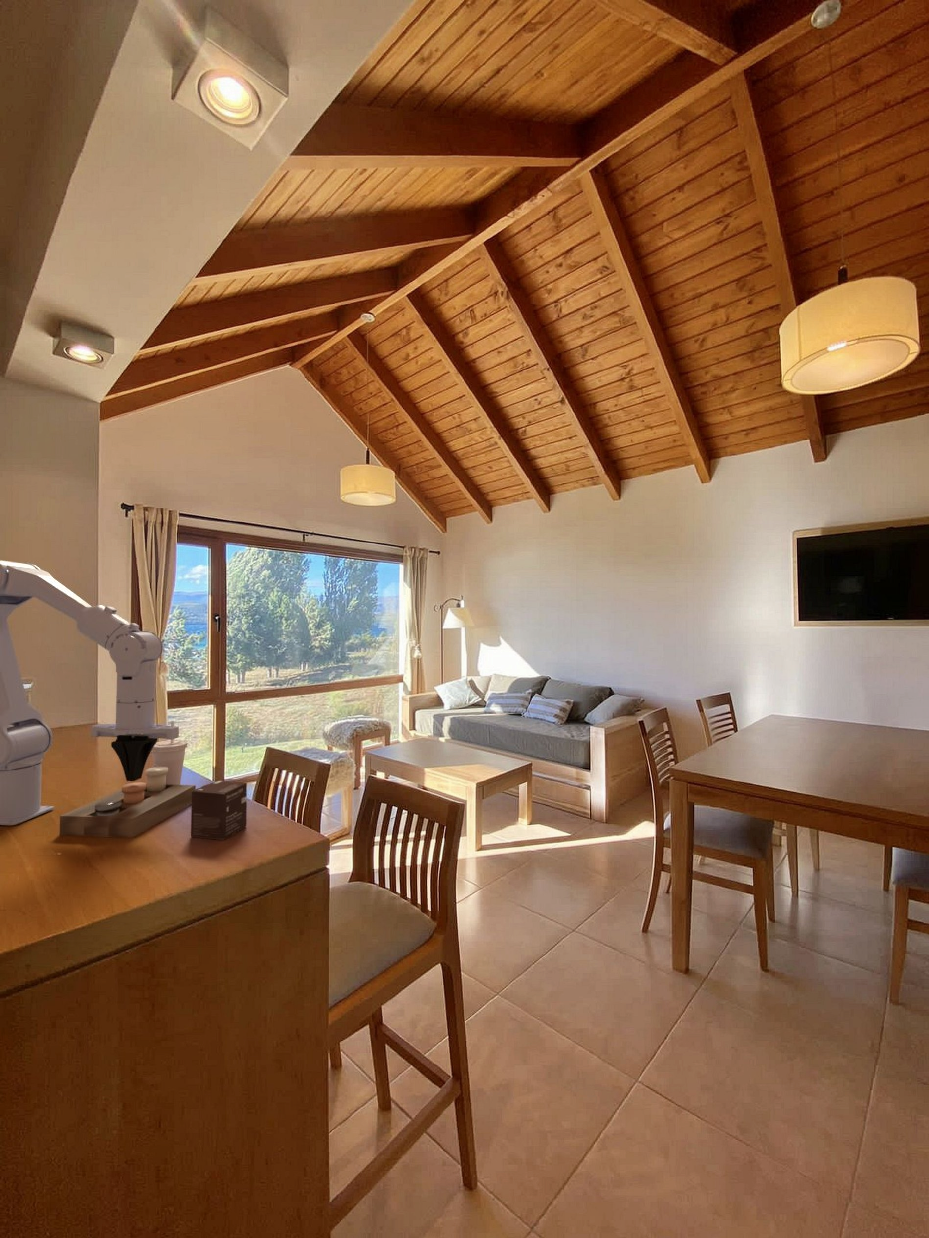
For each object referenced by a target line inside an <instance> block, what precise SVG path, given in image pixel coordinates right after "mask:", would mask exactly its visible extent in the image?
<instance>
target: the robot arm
mask: <svg viewBox="0 0 929 1238" xmlns="http://www.w3.org/2000/svg"><path fill="white" fill-rule="evenodd" d="M34 598H36V599H38V600H39V601H41V602H43V603H44V604H46V605H48V606H49V607H51V608H53V609H56V610H57V611H58V612H60V613H62V614H64V615H66V616H67V617H68V618H70V619H72V620H74V621H75V622H76V629H77V631H78V633H80V634H81V635H83V636H85V637H86V638H87V639H90V640H91V641H93V642H94V643H96V644H97V645H99V646H100V647H101V648H103V649H105V650H106V651H108V653H109V656H110V658H111V660H112V661H113V663H114V664H115V672H116V696H115V697H116V699H115V700H116V701H115V703H116V704H115V723H111V724H109V723H107V724H106V723H104V724H103V723H102V724H101V723H99V724H95V725H92V726H90V738H99V737H101V738H102V737H103V738H116V739H115V740H114V741H112V742H111V743H110V745H111V748H112V749H113V750H114V752H115V754H116V756H117V757H118V760H120V763H121V766H122V770H123V772H124V773H123V774H124V776H125V781H126V782H137V781H138V780H140V779H142V777H143V773H144V769H145V767H146V763H147V760H148V758H149V756H150V753H151V752H152V751H151V750H152V748H153V747H154V745H155V744H156V743H157V742H158V739H166V741H169V740H172V739H174V740H176V739H177V738H179V737H180V731H179V730H180V726H176V725H174V726H171V725H166V724H165V725H164V724H157V723H155V717H156V716H155V715H156V714H155V713H156V712H155V711H156V683H157V682H156V679H157V678H156V677H157V674H156V673H157V661H158V660H159V659H160V657H161V656H162V654H163V651H164V645H163V641H162V639H161V638H160V637H159V636H158V635H157V634H156V633H155V632H154V631H151V630H140V629H139V628H140V625H139V624H137V623H134V622H130V621H128V620H126V619H124V617H121V616H120V615H118V614H117V611H118V610H117V609H116V608H115V607H113V606H105V605H102V604H99V605H93V606H92V605H90V604H89V603H88V602H87V601H85V599H82V598H81V596H80V597H79V596H78V595H77V594H76V593H75V592H73V591H72V590H70V589H69V588H68V587H66V586H65V585H64V584H62V583H61V582H59V581H58V580H57V579H55V578H54V577H53V576H52V575H51V574H50V572H48V571H46V570H44V569H41V568H40V567H39V566H37V565H35V564H33V563H27V562H22V563H21V562H17V561H9V560H2V559H0V826H16V825H18V824H21V823H23V822H25V821H28V820H31V819H33V818H35V817H38V816H41V815H42V814H44V813H48V812H49V811H52V810H54V809H55V806H54V805H41V803H42V800H41V799H42V768H43V767H42V763H43V762H42V760H44V759H45V753H46V752H48V751H49V750H50V748H51V747H52V745H53V740H54V736H53V732H52V729H51V728H50V727H49V726H48V724H47V723H46V722H45V720H44V717H43V714H42V712H41V711H40V710H38V709H36V708H34V707H33V706H31V705H29V702H28V698H27V694H26V690H25V686H24V682H23V679H22V674H21V670H20V666H19V664H18V663H19V662H18V659H17V653H16V650H15V647H14V642H13V638H12V635H11V630H10V626H9V623H8V618H9V616H10V615H12V613H13V612H14V611H15V610H17V609H18V608H20V607H21V606H23V605H24V604H26V603H27V602H29V601H31V600H32V599H34ZM9 726H10V727H9Z"/></svg>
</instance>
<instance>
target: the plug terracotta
mask: <svg viewBox="0 0 929 1238" xmlns="http://www.w3.org/2000/svg"><path fill="white" fill-rule="evenodd" d="M146 784H147V782H143V781H141V782H138V781H135V782H129V783H126V784H123V785H121V789H122V793H124V803H139V802H141V801H143V800H144V790H146Z"/></svg>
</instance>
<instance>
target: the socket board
mask: <svg viewBox="0 0 929 1238" xmlns="http://www.w3.org/2000/svg"><path fill="white" fill-rule="evenodd" d="M196 789H197V787H196V784H180V785H172V784H166V789H165V790H163V791H161V792H147V783H146V790H144V800H143V801H141V802H139V803H124V793H122V788H121V789H118V790H116V791H114V792H112V793H109V794H107V795H104V796H102V797H100V798H97V799H94V800H93V801H92V802H89V803H86V804H84V805H82V806H80V807H77V808H75V809H72V810H70V811H67V812H65V813H63V814H61V815H59V836H78V837H99V838H101V837H102V838H104V837H105V838H107V837H108V838H128V839H129V838H130V839H131V838H132V839H133V838H135V837H137V836H138V835H140V834H142V833H143V832H145V831H147V830H148V829H150V828H152V827H154V826H156V825H157V824H159V823H161V822H163V821H164V820H166V819H168V818H169V817H171V816H172V815H174V814H176V813H178V812H179V811H181V810H183V809H185V808H186V807H189V806H191V805H192V791H193V790H196ZM108 800H121V801H122V807H121V808H120V809H119V813H117V814H115V815H113V816H97V812H95V804H97V803H99V802H103V801H108Z"/></svg>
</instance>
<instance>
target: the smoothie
mask: <svg viewBox="0 0 929 1238" xmlns="http://www.w3.org/2000/svg"><path fill="white" fill-rule="evenodd" d="M170 726H175V721H174V720H171V721H170ZM188 746H189V745H188V741H186V740H182V739H179V740H178V739H172V740H164V741H162V740H161V741H157V742H156V744H155V745H154V747H153V748H152V750H151V752H152V758H153V768H154V767H167V768H168V773H167V774H166V784H172V785H181V780H182V774H183V768H184V760H185V754H186V749H187V748H188Z"/></svg>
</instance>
